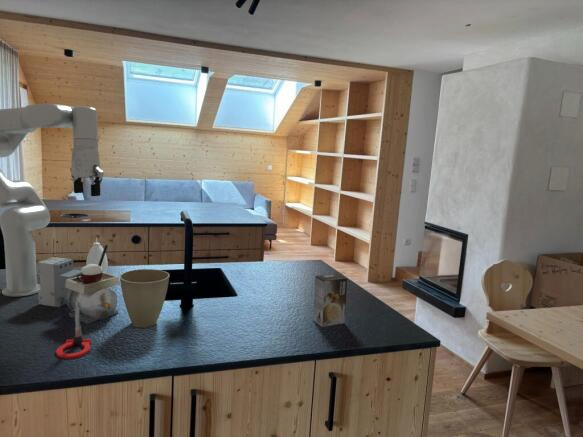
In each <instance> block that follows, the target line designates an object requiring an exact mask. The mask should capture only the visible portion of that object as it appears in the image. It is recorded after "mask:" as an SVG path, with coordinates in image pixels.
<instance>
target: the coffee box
mask: <svg viewBox="0 0 583 437" xmlns="http://www.w3.org/2000/svg"><path fill="white" fill-rule="evenodd" d="M347 289H348V278H347V277H346V276H343V275H341V274H339V273H329V274H321V275H320V274H319V275H315V279H314V296H313V297H314V300H313V317H312V321H313V322H315V324H317V325H319V326H320V327H322V328H324V327H325V328H326V327H330V326H336V325H343V324H345V323H346V319H345V318H346V308H347V307H346V306H347V292H348V290H347Z"/></svg>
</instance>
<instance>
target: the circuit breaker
mask: <svg viewBox="0 0 583 437" xmlns="http://www.w3.org/2000/svg"><path fill="white" fill-rule="evenodd" d="M36 264H37V266H36V273H37V275H39V284H40V291H38V294H37V298H38V301H39V302H38V305H43V306H49V307H56V308H60V307H62V306H64V305H66V302H65V294H66V291H67V289H68V288H66V287H65V284H66V279H71V278H75V277H77V275H81V273H82V272H81V269H80V270H79V269H75V268H74V259H73V258H65V257H58V256H57V257H55V256H52V257H49V258H47V259H43V260H40V261H36Z"/></svg>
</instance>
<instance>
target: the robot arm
mask: <svg viewBox="0 0 583 437" xmlns="http://www.w3.org/2000/svg"><path fill="white" fill-rule="evenodd" d="M98 127H99V126H98V111H97V109H96V108H94V107H91V106H83V105H82V106H81V105H80V106H78V105H77V106H71V105H65V104H58V103H38V104H37V103H36V104H29V105H26V106H21V107H12V108H0V158H7V157H9V156H11V155H12V154H13V153H15V151H16V150H17V148H19V146H20V145H21V143H22V142H23V141H24V139H25V138H26V137H27V134H29V133H33V132H35V131H37V130H38V128H39V129H40V128H62V129H72V131H73V132H72V133H73V134H72V138H73V148H72V151H71V152H72V153H71V164H70V166H71V168H70V169H69V170H70V173H71V174H70V175H71V178H72V182H73V193H74V194H83V193H84V181H83V179H89V180H90V182H91V183H90V196H91V197H100V196H101V184H102V181H103V178H104V177H103V176H104V174H105V173H104V171H103V170H102V169H101V161H100V154H99V133H98V132H99V128H98ZM2 208H3V209H5V211H3V212H2V213H1V214H0V229H1V233H2V236H3V243H4V244H3V245H4V258H5V259H4V260H5V276H6V279H5V282H6V287H4V288H2V290H1V293H2V295H3V296H6V297H13V298H15V297H17V298H18V297H26V296H30V295H35V294H37V293H38V291H40V283H38V278H37V275H38V274H37V253H36V252H37V251H36V243H35V239H34V238H33V235H32V234H31V232H32V231H36V230H40V229H43V228H45V227H47V226H48V225H49V224H50V222H51V214H50V211H49V209H48V207H47V206H46V203H44V201H43V199H42V198H41V196H40V195H39V194H38V192H37V191H36V189H35V188H34V187H33V185H31V184H30V183H29V182H27V181H26V180H11V179H8V178H7V177H6V175H5V173H3V171H2V169H1V168H0V209H2ZM6 208H8V209H6Z"/></svg>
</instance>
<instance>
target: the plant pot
mask: <svg viewBox="0 0 583 437" xmlns="http://www.w3.org/2000/svg"><path fill="white" fill-rule="evenodd" d="M170 277H171V276H170V273H169V272H167V271H164V270H160V269H153V268H144V269H143V268H142V269H141V268H139V269H131V270H128V271H125V272H123V273H121V274H120V275H119V281H120V289H121V292H122V298H123V302H124V305H125V309H126V312H127V314H128V317H129V320H130V322H131V324H132V326H133V327H135V328H142V329H144V328H150V327H153V326H155V325H156V324H157V322H158V320H159V317H160V315H161V312H162V310H163V307H164V306H163V305H164V303H165V300H166V295H167V293H168V286H169V282H170Z"/></svg>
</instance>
